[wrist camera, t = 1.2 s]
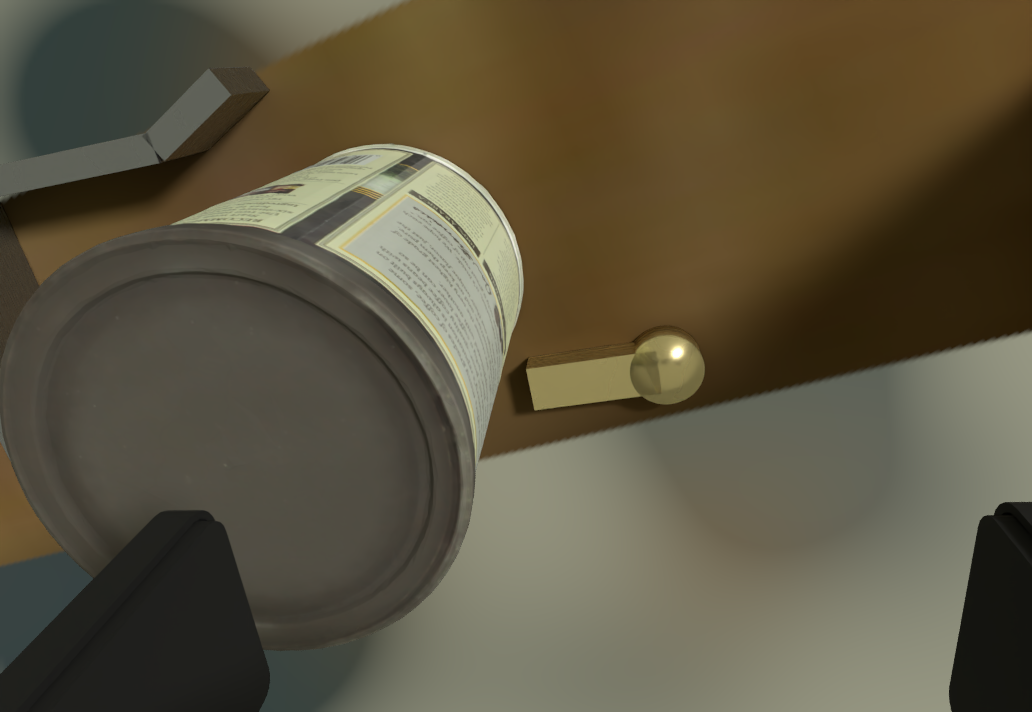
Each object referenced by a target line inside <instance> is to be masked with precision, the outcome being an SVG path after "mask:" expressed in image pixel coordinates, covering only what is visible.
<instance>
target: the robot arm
mask: <svg viewBox="0 0 1032 712" xmlns="http://www.w3.org/2000/svg"><path fill="white" fill-rule="evenodd" d="M269 683H270V673H269V667H268V665H267V661H266V658H265V654H264V651H263V648H262V645H261V641H260V638H259V635H258V632H257V628H256V625H255V622H254V619H253V616H252V612H251V609H250V606H249V603H248V599H247V596H246V593H245V590H244V586H243V583H242V580H241V577H240V574H239V570H238V567H237V564H236V561H235V557H234V554H233V551H232V548H231V544H230V541H229V538H228V535H227V532H226V529H225V527H224V525H223V524H222V523H221V522H218V521H215V519H214V517H213V516H212V515H211V514H210V513H209V512H208V511H204V510H167V511H163V512H160V513H159V514H157V515H156V516H155V517H154V518H153V519H152V520H151V521H150V522H149V523H148V524H147V525H146V526H145V527H144V528H143V529H142V530H141V531H140V532H139V533H138V534H137V535H136V536H135V537H134V538H133V539H132V540H131V541H130V542H129V543H128V544H127V545H126V546H125V547H124V548H123V549H122V550H121V551H120V552H119V553H118V554H117V555H116V556H115V557H114V558H113V559H112V561H111V562H110V563H109V564H108V565H107V566H106V567H105V568H104V569H103V570H102V571H101V572H100V573H99V574H98V575H97V576H96V577H95V578H94V579H93V580H92V581H91V582H90V583H89V584H88V585H87V586H86V587H85V588H84V589H83V590H82V591H81V592H80V593H79V594H78V595H77V596H76V597H75V598H74V599H73V600H72V602H70V604H69V605H68V606H67V607H66V608H65V609H64V610H63V611H62V612H61V613H60V614H59V615H58V616H57V617H56V618H55V619H54V620H53V621H52V622H51V623H50V624H49V625H48V626H47V627H46V628H45V629H44V630H43V631H42V632H41V633H40V634H39V635H38V636H37V637H36V638H35V639H34V640H33V641H32V642H31V643H30V644H29V645H28V646H27V648H25V649H24V651H22V653H21V654H20V655H19V656H18V657H17V658H16V659H15V660H14V661H13V662H12V663H11V664H10V665H9V666H8V667H7V668H6V669H5V670H4V671H3V672H2V673H1V674H0V712H259V710H260V708H261V706H262V704H263V703H264V700H265V698H266V696H267V692H268V689H269ZM949 700H950V705H951V711H952V712H1032V502H1005V503H1002V504H1000V505H999V506H998V507H997V509H996V510H995V513H994V515H987V516H984V517H983V518H982V519H981V520H980V523H979V526H978V531H977V536H976V542H975V547H974V553H973V558H972V564H971V569H970V575H969V580H968V586H967V592H966V597H965V603H964V608H963V614H962V619H961V626H960V631H959V636H958V642H957V648H956V653H955V658H954V664H953V670H952V675H951V681H950V686H949Z"/></svg>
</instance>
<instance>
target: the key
mask: <svg viewBox="0 0 1032 712" xmlns="http://www.w3.org/2000/svg"><path fill="white" fill-rule="evenodd" d="M526 372H527V376H528V381H529V386H530V391H531V396H532V400H533V405H534V410H541V409H548V408H556V407H564V406H571V405H579V404H586V403H594V402H602V401H609V400H617V399H624V398H632V397H640V396H642V397H644V398H645V399H647V400H649V401H651V402H654V403H657V404H674V403H678V402H681V401H683V400H686V399H687V398H689V397H690V396H692V395H693V394H694V393H695V392H696V391H697V390H698V388H699V387H700V385H701V383H702V381H703V378H704V373H705V365H704V361H703V358H702V355H701V352H700V350H699V347H698V344H697V343H696V341H695V340H694V338H693V337H692V336H691V335H690V334H689V333H687V332H686V331H684V330H682V329H680V328H677V327H673V326H658V327H654V328H651V329H649V330H647V331H645V332H644V333H642V334H641V335H640V336H639V337H638V338H637V339H636V340H635V341H634V342H631V343H624V344H617V345H610V346H603V347H596V348H589V349H582V350H575V351H568V352H561V353H554V354H547V355H540V356H534V357H528V362H527V367H526Z"/></svg>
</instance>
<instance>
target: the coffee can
mask: <svg viewBox="0 0 1032 712" xmlns="http://www.w3.org/2000/svg"><path fill="white" fill-rule="evenodd" d="M522 296H523V271H522V261H521V256H520V252H519V249H518V245H517V242H516V238H515V235H514V233H513V231H512V229H511V227H510V225H509V223H508V221H507V219H506V217H505V216H504V214H503V212H502V211H501V209H500V208H499V206H498V205H497V204H496V202H495V201H494V200H493V198H492V197H491V195H490V194H489V193H488V191H487V190H486V189H485V188H484V187H483V186H482V185H480V184H479V183H478V182H477V181H475V180H474V179H473V178H472V177H471V176H470V175H469V174H468V173H466V172H465V171H463V170H462V169H461V168H459V167H458V166H456V165H454V164H453V163H451V162H450V161H448V160H446V159H444V158H442V157H440V156H437V155H435V154H432V153H430V152H427V151H424V150H420V149H417V148H413V147H409V146H403V145H394V144H374V145H365V146H360V147H355V148H350V149H347V150H344V151H341V152H338V153H335V154H333V155H331V156H329V157H327V158H325V159H324V160H322V161H320V162H318V163H317V164H315V165H313V166H310V167H307V168H305V169H303V170H301V171H297V172H295V173H293V174H291V175H288V176H286V177H284V178H282V179H279V180H277V181H274V182H272V183H270V184H267V185H265V186H263V187H261V188H258V189H256V190H253V191H251V192H248V193H246V194H243V195H241V196H238V197H236V198H234V199H231V200H229V201H226V202H223V203H220V204H218V205H215V206H212V207H210V208H208V209H206V210H204V211H202V212H200V213H197V214H195V215H193V216H190V217H188V218H186V219H183V220H181V221H178V222H176V223H173V224H171V225H167V226H162V227H157V228H152V229H148V230H144V231H140V232H136V233H132V234H129V235H125V236H122V237H118V238H115V239H112V240H109V241H107V242H104V243H101V244H99V245H97V246H95V247H93V248H91V249H89V250H87V251H85V252H83V253H82V254H80V255H78V256H76V257H75V258H73V259H72V260H70V261H68V262H67V263H65V264H64V265H62V266H61V267H60V268H59V269H57V270H56V271H55V272H54V273H53V274H52V275H51V276H49V277H48V278H47V279H46V280H45V281H44V282H43V283H42V284H41V286H40V287H39V288H38V289H37V290H36V291H35V293H34V294H33V295H32V297H31V298H30V299H29V301H28V302H27V303H26V305H25V306H24V308H23V310H22V311H21V313H20V315H19V316H18V318H17V320H16V322H15V324H14V326H13V329H12V331H11V333H10V335H9V338H8V340H7V343H6V347H5V350H4V354H3V357H2V360H1V367H0V418H1V426H2V433H3V438H4V441H5V445H6V449H7V452H8V454H9V458H10V461H11V464H12V467H13V469H14V472H15V474H16V476H17V479H18V481H19V483H20V486H21V488H22V490H23V492H24V494H25V496H26V498H27V500H28V502H29V504H30V505H31V507H32V509H33V510H34V512H35V514H36V515H37V517H38V518H39V520H40V521H41V522H42V523H43V525H44V526H45V527H46V529H47V530H48V532H49V533H50V535H51V536H52V537H53V538H54V539H55V540H56V541H57V543H58V544H59V545H60V546H61V547H62V548H63V550H64V551H65V552H66V553H67V554H68V555H69V556H70V557H71V558H72V559H73V560H74V561H75V562H76V563H77V564H78V565H79V566H80V567H81V568H82V569H83V570H85V571H86V572H87V573H88V574H89V575H90V576H91V577H93V578H95V577H96V576H97V575H98V574H99V573H100V572H101V571H102V570H103V569H104V568H105V567H106V566H107V565H108V564H109V563H110V562H111V561H112V559H113V558H114V557H115V556H116V555H117V554H118V553H119V552H120V551H121V550H122V549H123V548H124V547H125V546H126V545H127V544H128V543H129V542H130V541H131V540H132V539H133V538H134V537H135V536H136V535H137V534H138V533H139V532H140V531H141V530H142V529H143V528H144V527H145V526H146V525H147V524H148V523H149V522H150V521H151V520H152V519H153V518H154V517H155V516H156V515H157V514H159V513H160V512H163V511H167V510H204V511H208V512H209V513H210V514H211V515H212V516H213V517H214V519H215V521H218V522H221V523H222V524H223V525H224V527H225V529H226V532H227V535H228V538H229V541H230V544H231V548H232V551H233V554H234V557H235V561H236V564H237V567H238V570H239V574H240V577H241V580H242V583H243V586H244V590H245V593H246V596H247V599H248V603H249V606H250V609H251V612H252V616H253V619H254V622H255V625H256V628H257V632H258V635H259V638H260V641H261V645H262V648H263V650H277V651H283V650H310V649H320V648H325V647H330V646H336V645H340V644H344V643H347V642H351V641H354V640H357V639H360V638H363V637H366V636H368V635H370V634H373V633H375V632H377V631H379V630H381V629H383V628H385V627H387V626H389V625H391V624H393V623H394V622H396V621H397V620H400V619H401V618H403V617H404V616H405V615H407V614H408V613H409V612H411V611H412V610H413V609H414V608H416V607H417V606H418V605H419V604H420V603H421V602H422V601H423V600H424V599H425V598H426V597H427V596H429V595H430V594H431V593H432V591H433V590H434V589H435V588H436V587H437V585H438V584H439V583H440V582H441V580H442V579H443V578H444V576H445V575H446V573H447V572H448V570H449V569H450V567H451V565H452V563H453V562H454V560H455V558H456V556H457V554H458V552H459V550H460V547H461V545H462V542H463V539H464V537H465V534H466V531H467V528H468V525H469V521H470V515H471V510H472V503H473V498H474V487H475V472H476V468H477V464H478V461H479V457H480V453H481V449H482V445H483V442H484V438H485V434H486V430H487V426H488V422H489V418H490V415H491V411H492V407H493V403H494V399H495V396H496V392H497V388H498V384H499V381H500V378H501V373H502V368H503V365H504V361H505V357H506V353H507V349H508V346H509V342H510V338H511V334H512V331H513V329H514V327H515V325H516V322H517V318H518V315H519V311H520V308H521V302H522Z"/></svg>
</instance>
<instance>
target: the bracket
mask: <svg viewBox="0 0 1032 712" xmlns="http://www.w3.org/2000/svg"><path fill="white" fill-rule="evenodd" d="M269 91H270V90H269V89H268V88H267V87H266V85H265V84H264V83H263V82H262V81H261V79H260V78H259V77H258V76H257V75H256V73H255V72H254V71H253V70H252V69H251V68H250V67H233V68H209V69H208V70H207V71H206V72H205V73H204V74H203V75H202V76H201V77H200V78H199V79H198V80H197V81H196V82H195V83H194V84H193V85H192V86H191V87H190V88H189V89H188V90H187V91H186V92H185V93H184V94H183V95H182V96H181V97H180V99H178V100H177V102H175V104H173V105H172V107H171V108H170V109H169V110H168V111H167V112H166V113H165V114H164V115H163V116H162V117H161V118H160V119H159V120H158V121H157V122H156V123H155V124H154V125H153V126H152V127H151V128H150V129H149V130H148V131H147V132H146V133H145V134H140V135H135V136H131V137H126V138H122V139H117V140H112V141H108V142H103V143H98V144H94V145H89V146H85V147H80V148H75V149H71V150H67V151H61V152H57V153H52V154H48V155H43V156H38V157H34V158H29V159H25V160H20V161H15V162H11V163H6V164H2V165H0V196H4V195H9V194H14V193H19V192H24V191H28V190H33V189H38V188H43V187H48V186H52V185H57V184H62V183H67V182H72V181H77V180H81V179H86V178H91V177H96V176H101V175H105V174H110V173H115V172H120V171H125V170H129V169H134V168H139V167H144V166H149V165H153V164H158V163H162V162H166V161H170V160H174V159H178V158H182V157H186V156H190V155H194V154H198V153H202V152H203V151H206V150H209V149H210V148H211V147H212V146H213V145H214V144H215V143H216V142H217V141H218V140H219V139H220V138H221V137H222V136H223V135H224V134H225V133H226V132H227V131H228V130H229V129H230V128H231V127H233V126H234V125H235V124H236V123H237V122H238V121H239V120H240V119H241V118H242V117H243V116H244V115H245V114H246V113H247V112H248V111H249V110H250V109H251V108H252V107H253V106H254V105H255V104H256V103H257V102H258V101H259V100H260V99H261V98H262V97H263V96H264V95H265V94H267V93H268V92H269ZM38 288H39V285H38V283H37V281H36V279H35V276H34V274H33V272H32V270H31V268H30V266H29V263H28V261H27V259H26V257H25V255H24V253H23V250H22V248H21V246H20V244H19V242H18V240H17V237H16V235H15V233H14V231H13V229H12V227H11V224H10V222H9V220H8V218H7V216H6V214H5V211H4V209H3V207H2V205H1V203H0V367H1V360H2V357H3V354H4V350H5V347H6V343H7V340H8V338H9V335H10V333H11V331H12V329H13V326H14V324H15V322H16V320H17V318H18V316H19V315H20V313H21V311H22V310H23V308H24V306H25V305H26V303H27V302H28V301H29V299H30V298H31V297H32V295H33V294H34V293H35V291H36V290H37V289H38ZM0 442H1V444H2V446H3V448H4V450H5V452H6V453H7V455H8V457H9V454H8V452H7V449H6V445H5V441H4V438H3V433H2V426H1V418H0ZM9 459H10V458H9Z"/></svg>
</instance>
